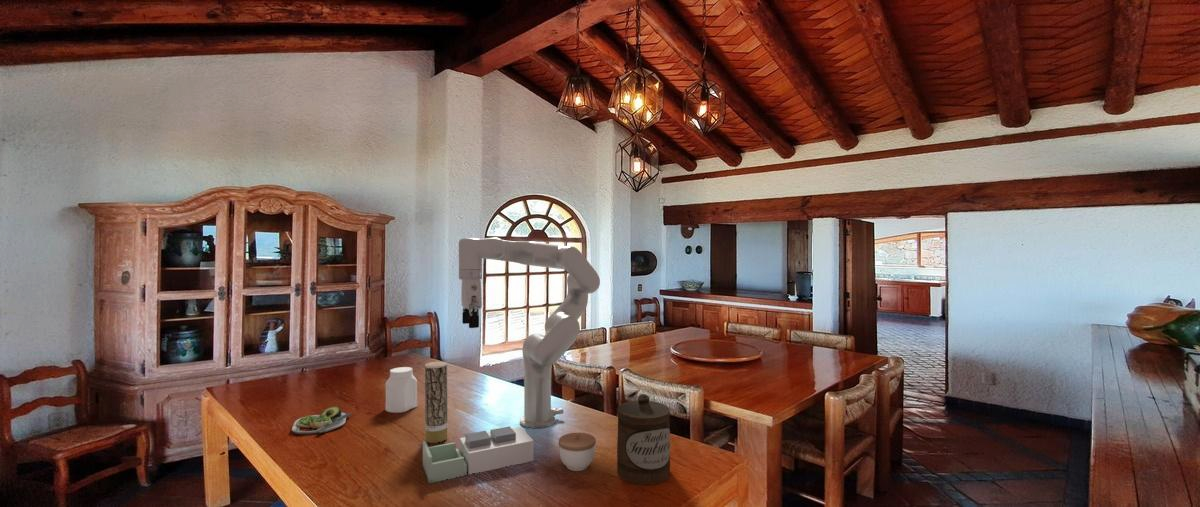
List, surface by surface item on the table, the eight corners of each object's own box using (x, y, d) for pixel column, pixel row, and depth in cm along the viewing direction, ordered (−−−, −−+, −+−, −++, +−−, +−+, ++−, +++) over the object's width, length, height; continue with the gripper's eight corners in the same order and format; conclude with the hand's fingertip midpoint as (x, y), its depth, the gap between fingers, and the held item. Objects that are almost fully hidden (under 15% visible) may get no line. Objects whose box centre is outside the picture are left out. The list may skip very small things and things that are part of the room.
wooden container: (632, 489, 126) (632, 406, 125) (608, 465, 139) (608, 390, 139) (680, 478, 132) (680, 399, 131) (653, 457, 145) (653, 384, 145)
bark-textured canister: (440, 445, 153) (440, 367, 153) (421, 443, 155) (420, 366, 154) (451, 436, 160) (451, 362, 160) (432, 435, 161) (432, 361, 161)
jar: (403, 401, 196) (403, 365, 196) (421, 404, 192) (421, 367, 192) (380, 410, 185) (380, 371, 185) (399, 414, 182) (399, 374, 181)
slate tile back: (509, 432, 148) (509, 426, 148) (515, 439, 143) (515, 433, 143) (490, 436, 145) (490, 429, 145) (495, 443, 140) (495, 436, 140)
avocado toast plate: (347, 433, 164) (347, 420, 164) (285, 441, 157) (285, 427, 157) (352, 415, 182) (352, 402, 182) (297, 421, 175) (296, 409, 175)
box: (458, 458, 144) (457, 435, 144) (466, 475, 133) (466, 450, 133) (422, 465, 139) (422, 441, 139) (429, 483, 129) (428, 457, 129)
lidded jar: (567, 478, 132) (567, 444, 132) (552, 462, 141) (552, 430, 141) (602, 469, 137) (602, 437, 137) (585, 455, 146) (585, 424, 146)
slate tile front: (485, 437, 145) (485, 430, 145) (490, 444, 139) (490, 437, 139) (465, 441, 142) (465, 434, 142) (469, 448, 137) (469, 441, 137)
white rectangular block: (520, 445, 153) (520, 427, 153) (533, 460, 143) (533, 440, 142) (459, 457, 144) (459, 438, 144) (468, 474, 134) (468, 453, 134)
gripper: (488, 275, 156) (488, 328, 156) (475, 273, 171) (475, 321, 171) (464, 276, 152) (464, 330, 153) (453, 273, 168) (454, 322, 168)
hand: (470, 325), depth 162 cm, fingers open, 9 cm apart
